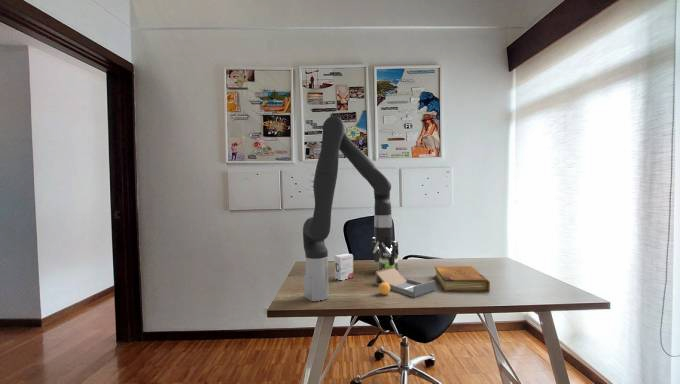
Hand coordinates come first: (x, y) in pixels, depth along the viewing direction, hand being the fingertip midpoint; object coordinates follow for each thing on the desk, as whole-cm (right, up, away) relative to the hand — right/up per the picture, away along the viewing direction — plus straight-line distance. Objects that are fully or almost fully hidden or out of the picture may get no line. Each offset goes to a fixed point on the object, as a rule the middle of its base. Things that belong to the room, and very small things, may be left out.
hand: (384, 263), depth 139 cm
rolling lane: (+10, -13, +9) cm, 19 cm away
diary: (+37, -13, +13) cm, 41 cm away
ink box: (-17, -13, +24) cm, 32 cm away
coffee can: (+7, -12, +34) cm, 37 cm away
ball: (0, -11, 0) cm, 11 cm away
